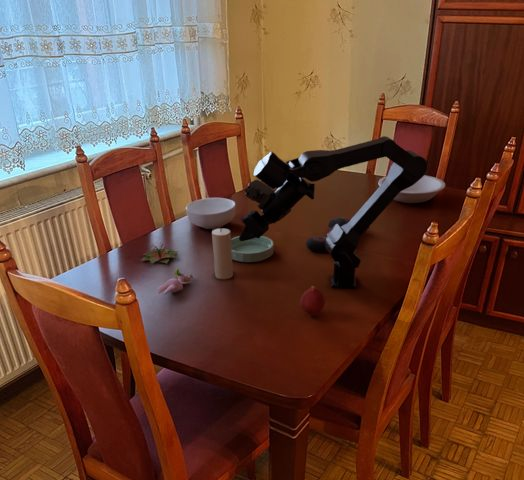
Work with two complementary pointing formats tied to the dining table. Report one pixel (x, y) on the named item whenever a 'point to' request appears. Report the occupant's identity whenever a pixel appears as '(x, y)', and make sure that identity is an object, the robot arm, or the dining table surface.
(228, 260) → the candle
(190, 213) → the cereal bowl
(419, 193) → the soup bowl
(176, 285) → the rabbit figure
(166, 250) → the lily flower
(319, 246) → the toy motorcycle
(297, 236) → the dining table surface
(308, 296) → the onion
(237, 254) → the candle dish
